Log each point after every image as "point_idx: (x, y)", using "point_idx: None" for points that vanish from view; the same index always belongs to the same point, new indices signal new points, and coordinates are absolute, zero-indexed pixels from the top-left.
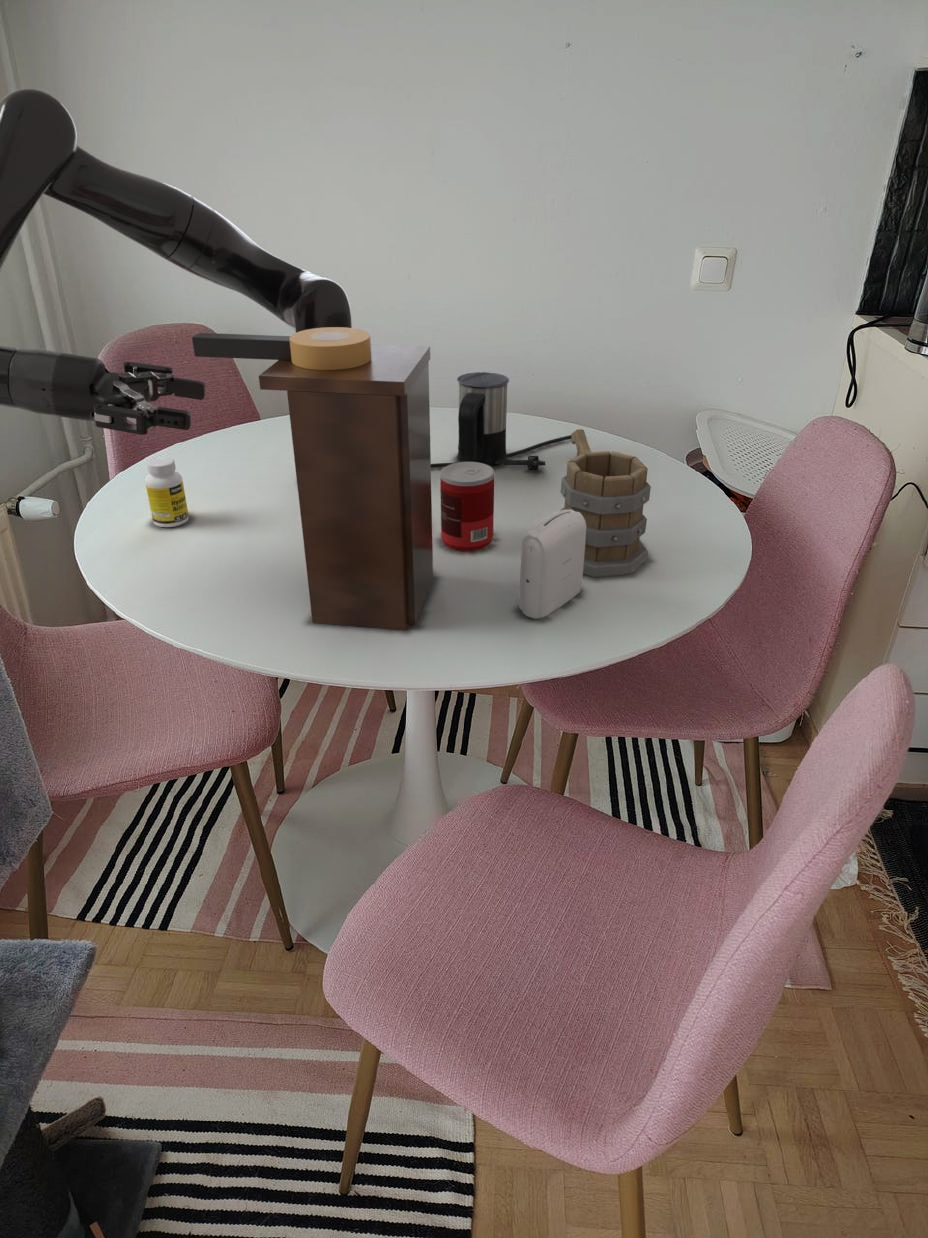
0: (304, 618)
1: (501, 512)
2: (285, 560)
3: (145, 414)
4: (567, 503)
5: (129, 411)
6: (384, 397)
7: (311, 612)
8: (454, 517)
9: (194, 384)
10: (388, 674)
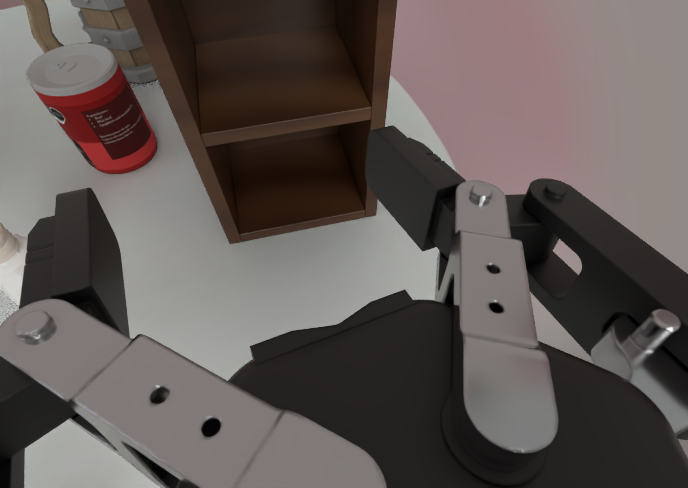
0: (370, 227)
1: (31, 145)
2: (228, 329)
3: (543, 179)
4: (126, 12)
5: (596, 225)
6: None
7: (376, 205)
8: (137, 115)
9: (94, 214)
10: (423, 125)
